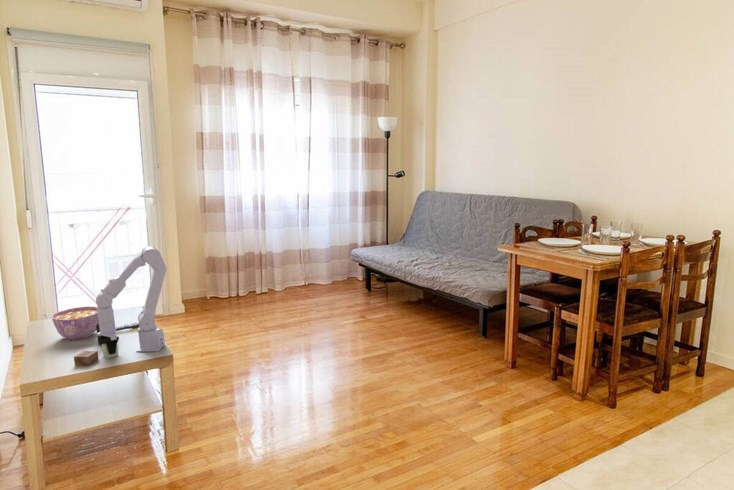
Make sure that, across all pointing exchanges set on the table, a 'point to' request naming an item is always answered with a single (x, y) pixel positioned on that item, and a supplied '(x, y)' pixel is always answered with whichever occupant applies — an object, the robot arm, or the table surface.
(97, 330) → the supplement bottle
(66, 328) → the bowl of food
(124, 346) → the table surface
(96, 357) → the walnut block
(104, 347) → the sage block
